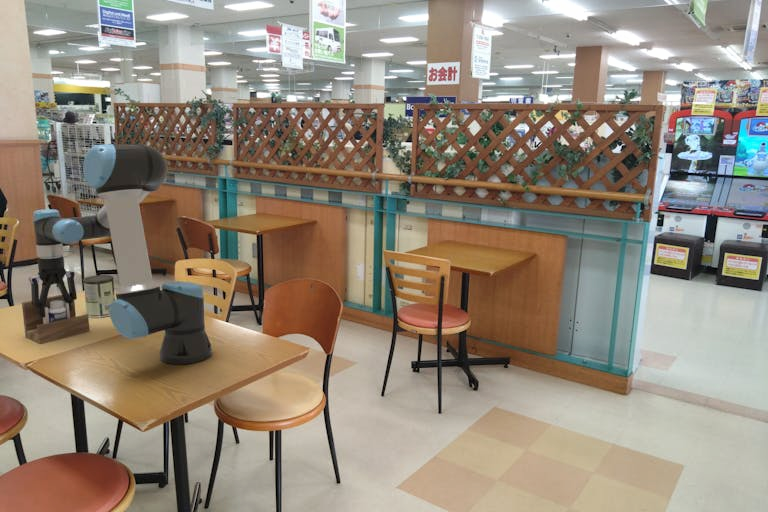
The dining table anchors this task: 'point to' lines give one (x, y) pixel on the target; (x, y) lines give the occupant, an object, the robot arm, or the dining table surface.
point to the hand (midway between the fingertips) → (57, 323)
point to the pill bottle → (56, 311)
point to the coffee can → (99, 295)
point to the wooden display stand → (52, 323)
